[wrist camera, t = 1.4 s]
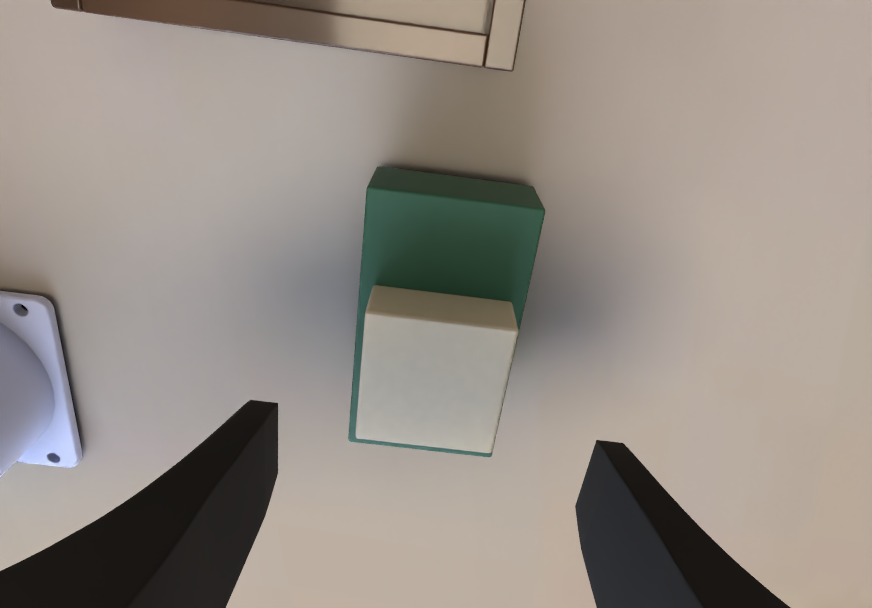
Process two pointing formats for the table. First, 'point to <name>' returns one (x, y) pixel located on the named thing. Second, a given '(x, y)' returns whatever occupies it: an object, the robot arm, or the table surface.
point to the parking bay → (348, 24)
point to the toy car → (439, 308)
